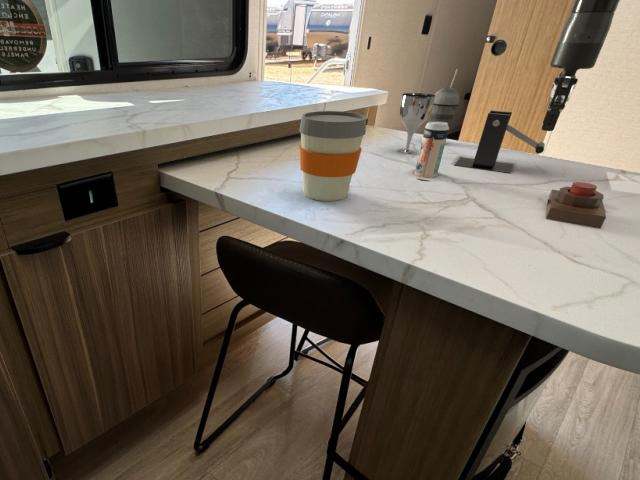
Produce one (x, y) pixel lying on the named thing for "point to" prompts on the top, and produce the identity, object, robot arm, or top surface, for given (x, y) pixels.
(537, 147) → the lever
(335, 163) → the reusable coffee cup
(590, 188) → the button
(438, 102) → the beverage cup
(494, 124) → the bracket
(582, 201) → the button box
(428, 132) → the supplement bottle
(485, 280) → the top surface
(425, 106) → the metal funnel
